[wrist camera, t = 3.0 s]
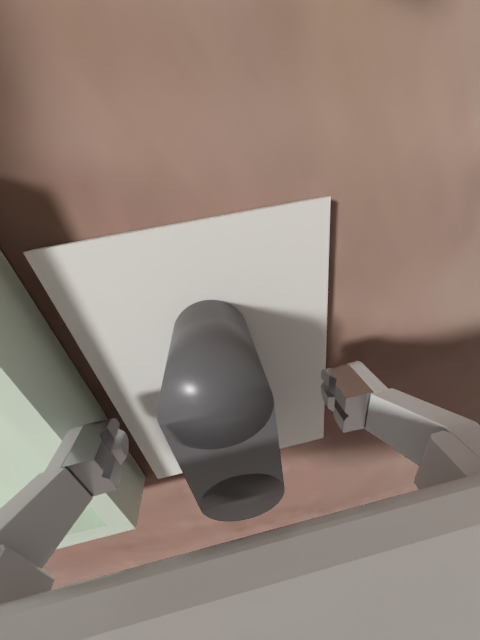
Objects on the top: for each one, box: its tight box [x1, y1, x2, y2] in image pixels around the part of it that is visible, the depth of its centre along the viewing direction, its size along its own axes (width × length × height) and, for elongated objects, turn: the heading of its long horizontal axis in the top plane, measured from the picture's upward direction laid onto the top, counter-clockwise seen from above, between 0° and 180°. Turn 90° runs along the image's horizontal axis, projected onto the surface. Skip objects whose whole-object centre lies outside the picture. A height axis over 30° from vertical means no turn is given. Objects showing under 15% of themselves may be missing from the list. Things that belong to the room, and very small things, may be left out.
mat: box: [23, 197, 331, 479], centre depth 11 cm, size 10×13×1 cm
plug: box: [157, 300, 284, 521], centre depth 9 cm, size 9×3×4 cm, turn 9°
